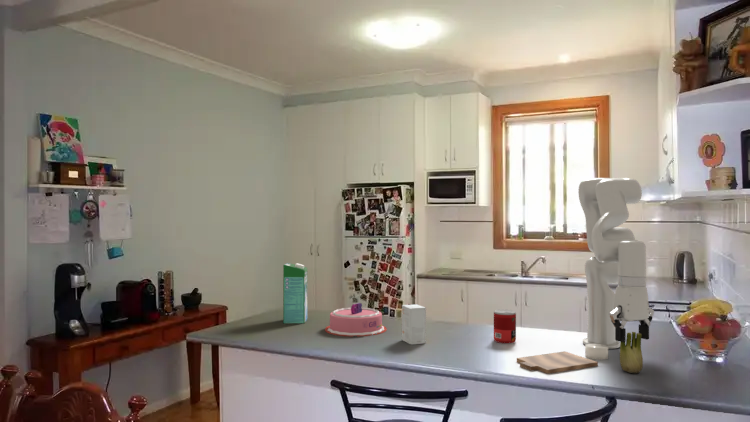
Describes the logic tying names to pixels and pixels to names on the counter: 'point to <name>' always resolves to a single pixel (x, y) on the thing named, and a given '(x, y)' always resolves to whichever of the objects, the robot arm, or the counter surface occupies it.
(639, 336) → the fennel bulb
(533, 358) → the board
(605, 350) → the white rounded block
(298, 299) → the milk carton
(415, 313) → the small box
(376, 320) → the cake
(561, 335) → the counter surface
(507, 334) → the canned food
